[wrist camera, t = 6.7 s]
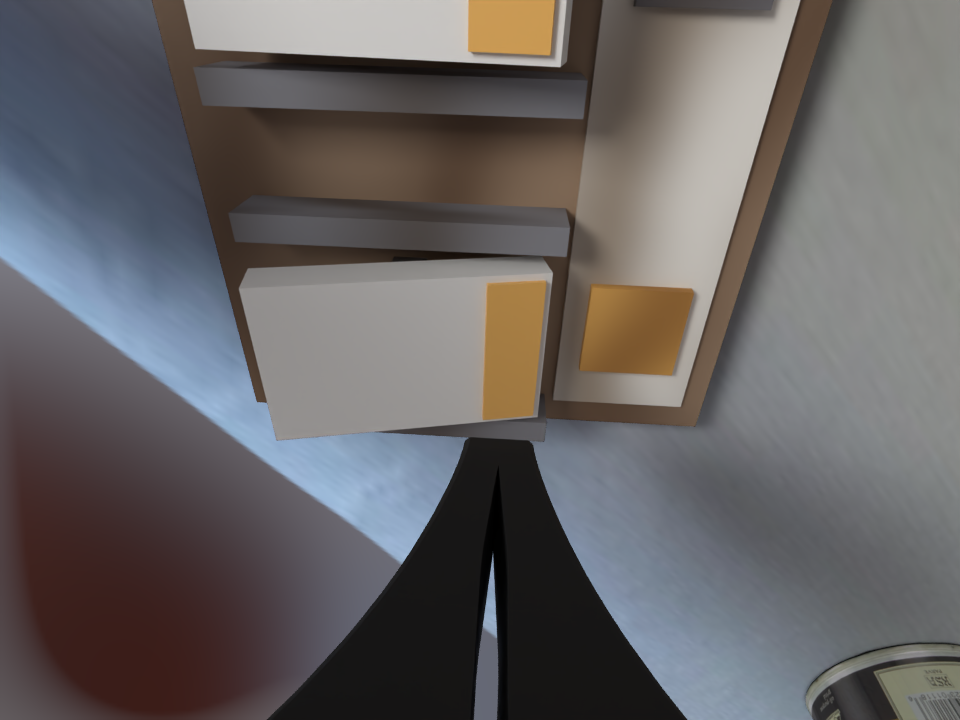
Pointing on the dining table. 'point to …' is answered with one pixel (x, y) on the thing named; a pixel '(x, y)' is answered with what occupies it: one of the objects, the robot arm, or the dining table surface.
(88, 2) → the dining table surface
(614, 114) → the switch board
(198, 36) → the rocker middle
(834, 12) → the dining table surface
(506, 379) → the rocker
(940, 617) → the dining table surface
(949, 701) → the coffee can
